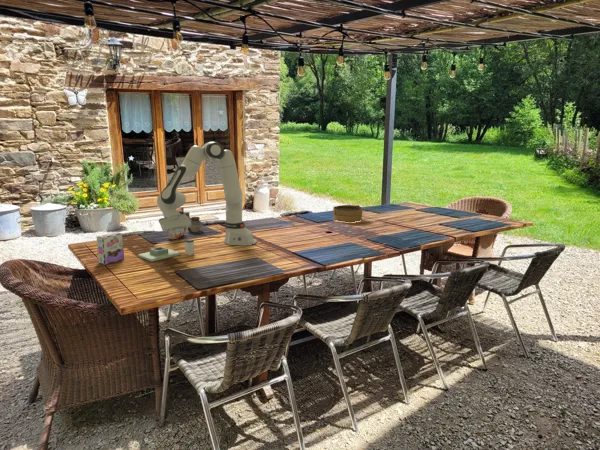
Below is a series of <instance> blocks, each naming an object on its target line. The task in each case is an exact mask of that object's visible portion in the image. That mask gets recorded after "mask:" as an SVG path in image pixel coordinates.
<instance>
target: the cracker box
mask: <svg viewBox="0 0 600 450" xmlns="http://www.w3.org/2000/svg"><path fill="white" fill-rule="evenodd" d="M176 211H182V212H185V211H184V207H182V206H181V207H179V208H177V209H176ZM172 231H173V232H175V233H176V235H175V236H173V235H172V234H171V233H170V232H169V231H167V232H168V239H169V240H174V239H176V240H178V239H180V238H182V237H184V236H185V228H182V229H176V230H172ZM183 235H184V236H183ZM181 236H182V237H181ZM179 237H180V238H179Z"/></svg>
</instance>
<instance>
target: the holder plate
mask: <svg viewBox="0 0 600 450" xmlns="http://www.w3.org/2000/svg"><path fill="white" fill-rule="evenodd" d="M178 256H181V252H179V251H176V250H173V249H171V248H168V247H165V246H156V247H153V248H149V251H146V252H143V253H139V254H138V255H137V257H138V258H140V259H144V260H146V261H148V262H151V263H152V262H157V261H160V260H164V259H168V258H172V257H178Z"/></svg>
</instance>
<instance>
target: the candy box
mask: <svg viewBox="0 0 600 450" xmlns="http://www.w3.org/2000/svg"><path fill="white" fill-rule="evenodd" d="M96 245H97V247H96V248H97V261H98V264H101V265H104V266H105V265H108V264H112V263H115V262H116V263H117V262H119V261H122V260H125V251H124V238H123V233H122V232H117V231H116V232H112V233H111V232H110V233H107V234H102V235H98V236H97V235H96Z"/></svg>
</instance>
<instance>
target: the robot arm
mask: <svg viewBox="0 0 600 450" xmlns="http://www.w3.org/2000/svg"><path fill="white" fill-rule="evenodd" d="M205 159H211V160H212V159H213V160H214V159H215V160H217V162H218V166H219V171H220V175H221V180H222V181H221V182H222V188H223V193H224V198H225V236H224V240H223V242H224V243H225V244H227V245H228V246H252V244H253V245H255V244H256V243H257V242H258V241H257V239H255V238H254V234H253V232H252V231H251V230H249V229H248V228H247V227H246V226H245V225H246V222H244V221H243V190H242V188H241V185H240V179H239V174H238V168H237V164H236V160H235V157H234V154H233V152H232V150H230V149H227V148H226V149H225V148H224V147H223V146H222V144H220V143H219V142H218V141H209V142H205V143H204V144H202V145H201V146H199V145H192V146H191V147H190V149H189V150H188V151H187V153H186V155H185V157H184V159H183V162H182V163H181V165H179V166H178V167H177V168H176V170H175V171H174V173H173V174H172V176H171V179H170V180H169V182H168V183H167V185H166V187H164V188H163V189H162V191H161V193H160V195H159V196H158V197H157V200H156V202H157V203H156V204H157V207H158V208H159V211H160V212H161V213H162V216H163V217H160V218H159V219H158V223H159V224H160V227H161V230H162V231H163V232H168V231H169V232H170V233H171V234H172V235H173V236H175V235H176V233H175V232H173V231H172V230H176V229H182V228H184V233H185V234H189V228H188V227H190V225H191V221H190V219H189V218H188V217H187V216H186V215H185V212H186V211H184V212H182V211H176V209H177V208H179V207H182V206H184V204H185V203H186V200H187V199H186V195H185V193H182V192H180V191H179V190H178V187H179V186H180V184H181V182H182V181H183V180H184V178H186V177H191V176H194V175H197V174H198V172H199V171H200V169H201V167H202V164H203V162H204V160H205ZM169 232H168V233H169Z"/></svg>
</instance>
